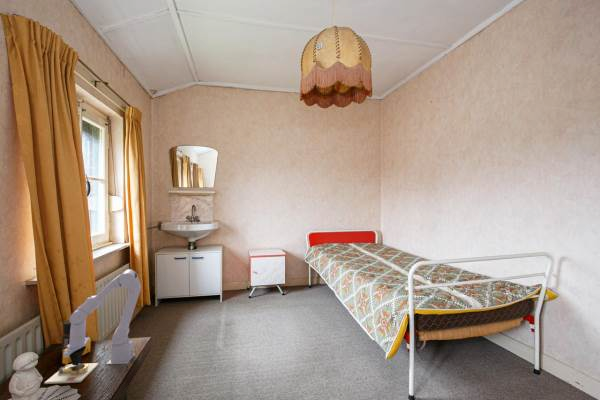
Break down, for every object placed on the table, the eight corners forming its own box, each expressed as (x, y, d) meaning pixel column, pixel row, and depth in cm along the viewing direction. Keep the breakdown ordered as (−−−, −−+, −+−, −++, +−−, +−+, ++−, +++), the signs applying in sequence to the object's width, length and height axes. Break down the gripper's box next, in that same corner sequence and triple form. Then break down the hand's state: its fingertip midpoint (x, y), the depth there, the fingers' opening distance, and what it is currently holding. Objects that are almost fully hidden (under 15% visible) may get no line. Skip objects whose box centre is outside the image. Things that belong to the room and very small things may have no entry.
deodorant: (60, 354, 136) (62, 324, 136) (63, 349, 141) (65, 320, 141) (75, 351, 139) (76, 322, 139) (77, 346, 144) (79, 318, 144)
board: (98, 364, 128) (99, 356, 129) (80, 382, 116) (81, 373, 116) (66, 366, 126) (67, 357, 127) (44, 383, 114) (45, 374, 114)
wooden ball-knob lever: (90, 366, 125) (90, 363, 125) (82, 374, 119) (82, 370, 119) (64, 367, 123) (64, 364, 123) (54, 375, 117) (54, 371, 117)
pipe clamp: (83, 350, 141) (83, 338, 141) (90, 351, 140) (90, 339, 140) (59, 363, 129) (60, 349, 129) (66, 364, 128) (67, 350, 128)
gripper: (79, 328, 133) (77, 356, 132) (56, 343, 118) (54, 374, 118) (94, 328, 134) (92, 355, 133) (74, 342, 119) (72, 373, 119)
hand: (75, 364), depth 125 cm, fingers closed
